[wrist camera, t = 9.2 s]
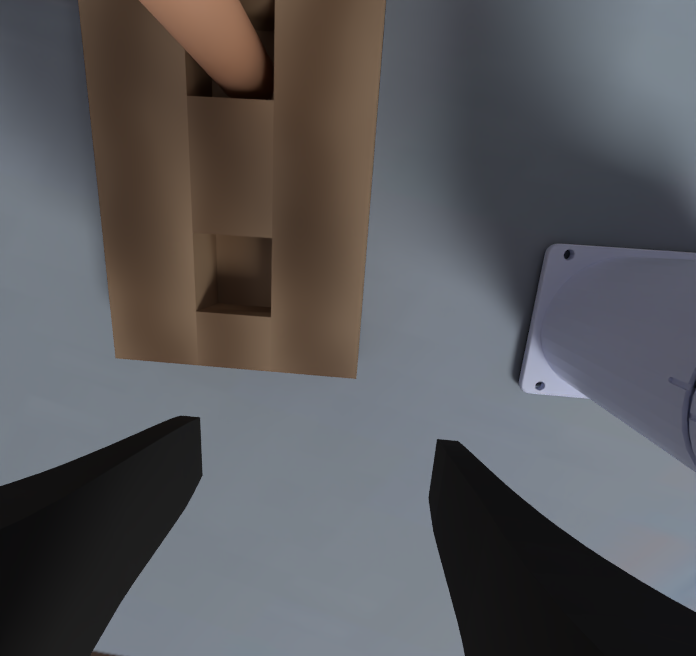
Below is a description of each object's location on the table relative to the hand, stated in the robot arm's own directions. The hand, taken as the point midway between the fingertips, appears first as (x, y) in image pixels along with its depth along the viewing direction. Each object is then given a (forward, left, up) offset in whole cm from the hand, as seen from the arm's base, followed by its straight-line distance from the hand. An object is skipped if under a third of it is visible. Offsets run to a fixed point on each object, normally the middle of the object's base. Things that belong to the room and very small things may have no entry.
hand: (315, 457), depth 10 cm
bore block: (+5, -9, -9) cm, 14 cm away
